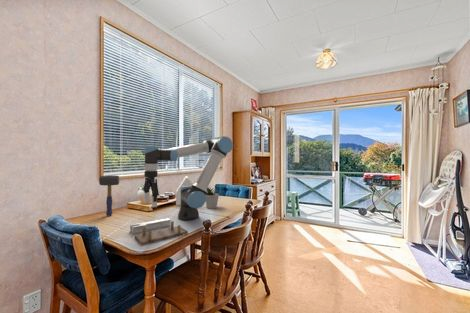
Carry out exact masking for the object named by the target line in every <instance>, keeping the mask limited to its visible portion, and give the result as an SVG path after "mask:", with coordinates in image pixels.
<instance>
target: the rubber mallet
mask: <svg viewBox="0 0 470 313" xmlns="http://www.w3.org/2000/svg"><path fill="white" fill-rule="evenodd" d="M98 184H99V186H107V196H106V201H105V202H106V213H105V214H106V216H107V217H110V216H112V215H113V207H112V206H113V196H112V186H117V185H118V186H119V184H120V176H119V175H100V176H99V180H98Z"/></svg>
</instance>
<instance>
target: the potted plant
mask: <svg viewBox="0 0 470 313" xmlns="http://www.w3.org/2000/svg"><path fill="white" fill-rule="evenodd" d="M217 191H218V190H217V189H215V187H211V186H210V185H208V187H207V194H206V201H205V208H207V209H210V210H211V209H213V210H214V209H216V208H217V207H218V201H219V196H220V194H219V193H218V192H217Z"/></svg>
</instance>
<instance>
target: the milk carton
mask: <svg viewBox="0 0 470 313" xmlns="http://www.w3.org/2000/svg"><path fill="white" fill-rule="evenodd" d="M193 184H194V183H192V180H191V179H190V177H189V176H187V175H185V176H184V178H183V179H182V181H181V183H180V184H179V186H177V188H176V190H175V191H176V192H175V206H177V207H178V206H181V192H180V191H181V187H184V186H192V185H193Z"/></svg>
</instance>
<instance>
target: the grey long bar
mask: <svg viewBox="0 0 470 313" xmlns="http://www.w3.org/2000/svg"><path fill="white" fill-rule="evenodd" d="M143 227H146V232H147V231H148V232H149V231H152V230H157V229H162V228H165V227H167V228H168V227H171V219H170V218H168V217H166V218H161V219H156V220H151V221H145V222H138V223H132V224H131V223H130V226H129V232H130V233H132V235H138V234H140V233H141V234H142V233H143Z"/></svg>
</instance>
